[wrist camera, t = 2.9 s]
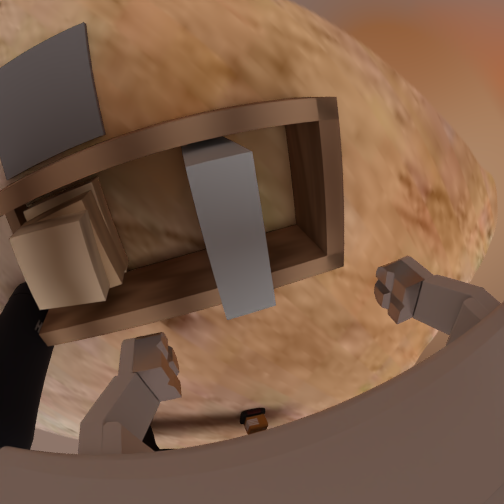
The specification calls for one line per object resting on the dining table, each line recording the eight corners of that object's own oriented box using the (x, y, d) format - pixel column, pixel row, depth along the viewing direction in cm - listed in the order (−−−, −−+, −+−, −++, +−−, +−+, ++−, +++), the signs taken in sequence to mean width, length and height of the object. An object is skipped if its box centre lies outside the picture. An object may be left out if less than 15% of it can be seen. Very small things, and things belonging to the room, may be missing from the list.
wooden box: (63, 304, 23) (48, 346, 18) (8, 185, 16) (-29, 210, 11) (311, 234, 27) (343, 266, 22) (298, 97, 20) (336, 96, 15)
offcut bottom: (68, 276, 23) (61, 291, 21) (34, 201, 19) (23, 211, 17) (129, 257, 24) (126, 272, 22) (99, 174, 20) (91, 182, 18)
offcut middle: (62, 290, 21) (54, 307, 19) (25, 222, 17) (12, 235, 15) (125, 266, 21) (122, 283, 19) (91, 189, 18) (81, 199, 16)
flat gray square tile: (10, 178, 16) (6, 180, 16) (-11, 78, 11) (-14, 78, 11) (105, 134, 18) (103, 134, 17) (86, 24, 13) (84, 22, 12)
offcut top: (47, 294, 18) (39, 309, 16) (20, 226, 15) (8, 238, 13) (109, 284, 19) (105, 300, 17) (87, 209, 16) (78, 220, 14)
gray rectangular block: (205, 243, 25) (227, 320, 16) (180, 143, 20) (185, 166, 11) (238, 234, 25) (275, 305, 17) (218, 134, 20) (252, 151, 12)
